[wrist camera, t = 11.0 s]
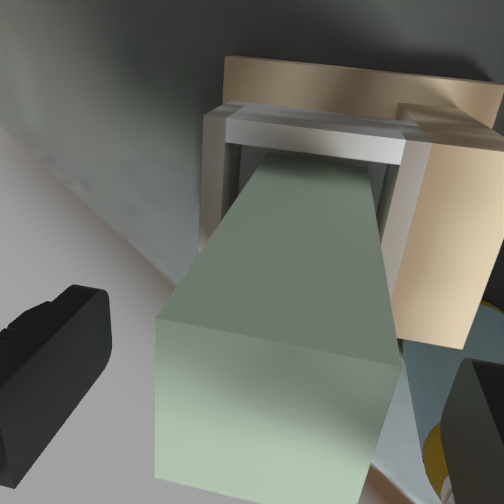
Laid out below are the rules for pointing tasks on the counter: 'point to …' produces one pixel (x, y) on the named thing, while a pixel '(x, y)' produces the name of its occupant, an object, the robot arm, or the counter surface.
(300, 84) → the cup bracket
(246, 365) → the rail post
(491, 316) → the bottle
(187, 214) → the counter surface
